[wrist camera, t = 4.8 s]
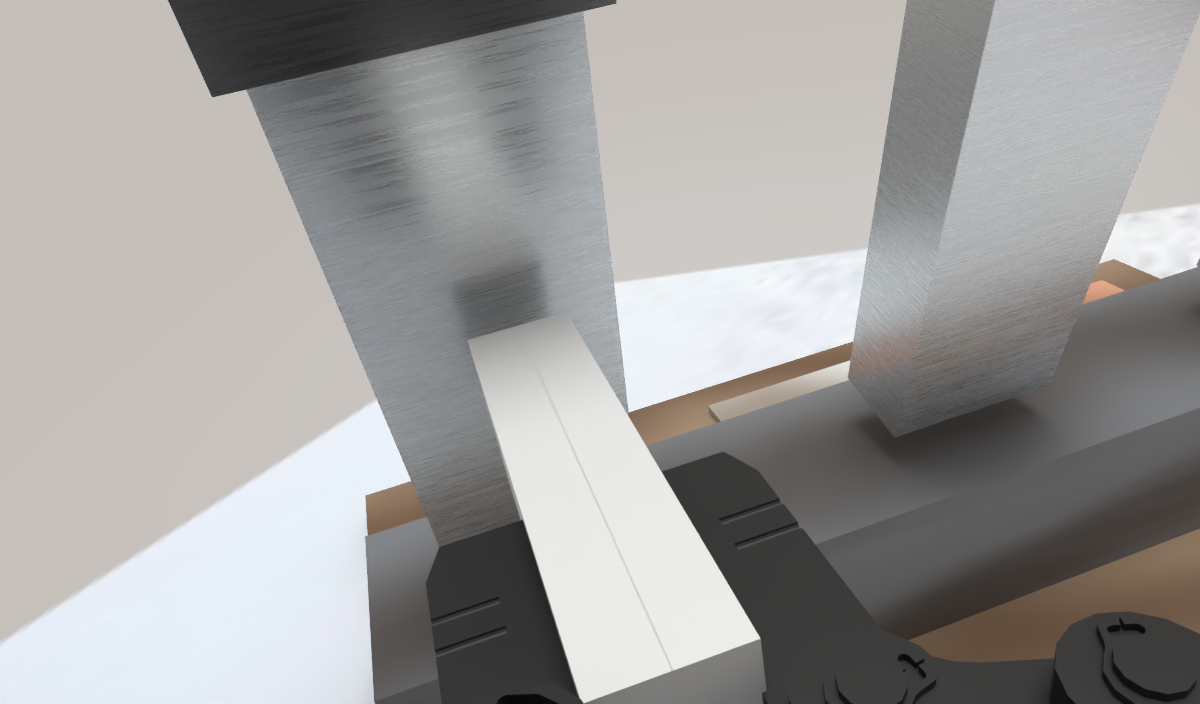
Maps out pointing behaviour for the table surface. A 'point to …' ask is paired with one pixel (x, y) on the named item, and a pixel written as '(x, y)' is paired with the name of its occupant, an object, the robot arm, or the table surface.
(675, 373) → the table surface
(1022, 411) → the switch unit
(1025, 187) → the lever middle
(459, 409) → the lever
